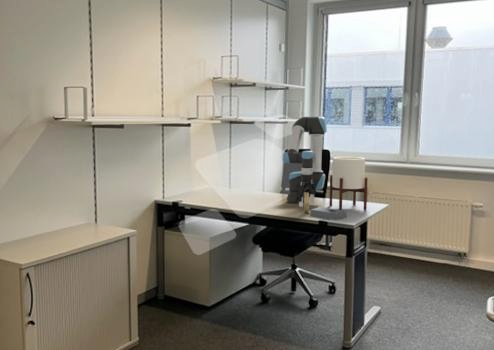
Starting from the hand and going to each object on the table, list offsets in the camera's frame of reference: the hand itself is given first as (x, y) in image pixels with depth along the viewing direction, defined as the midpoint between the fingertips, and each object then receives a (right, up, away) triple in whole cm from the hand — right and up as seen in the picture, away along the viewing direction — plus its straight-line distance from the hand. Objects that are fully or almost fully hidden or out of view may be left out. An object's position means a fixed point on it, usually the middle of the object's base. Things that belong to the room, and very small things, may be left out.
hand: (306, 205), depth 329 cm
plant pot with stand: (+32, -3, +19) cm, 37 cm away
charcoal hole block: (+13, -7, -10) cm, 18 cm away
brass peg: (0, -5, +1) cm, 5 cm away
